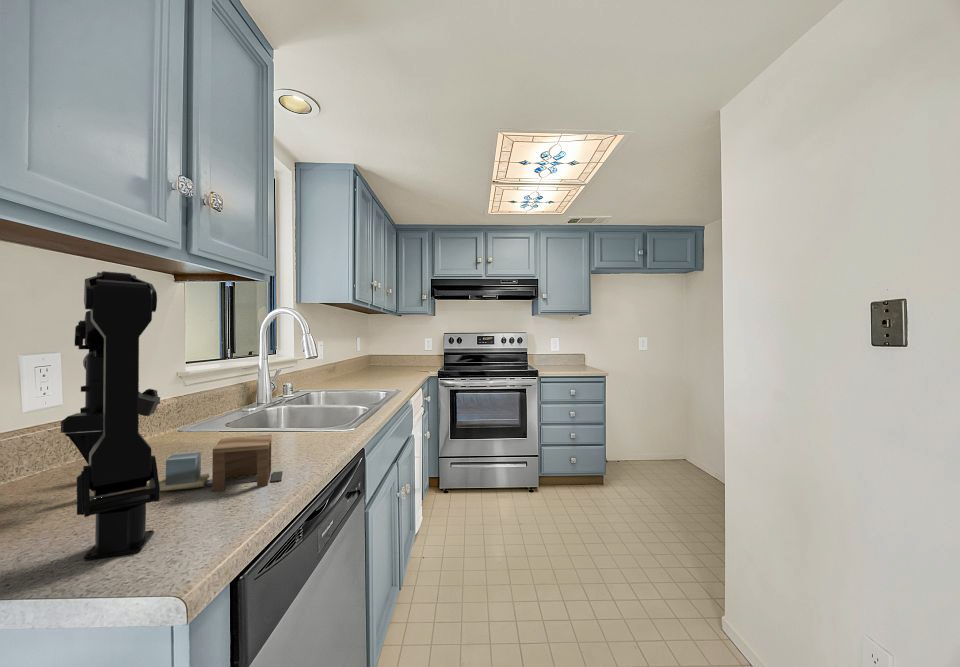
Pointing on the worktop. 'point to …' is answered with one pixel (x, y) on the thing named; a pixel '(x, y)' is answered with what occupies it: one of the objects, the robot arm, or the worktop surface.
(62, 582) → the worktop surface
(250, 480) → the rail
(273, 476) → the grey flat block
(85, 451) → the robot arm
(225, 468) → the tunnel
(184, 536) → the worktop surface
